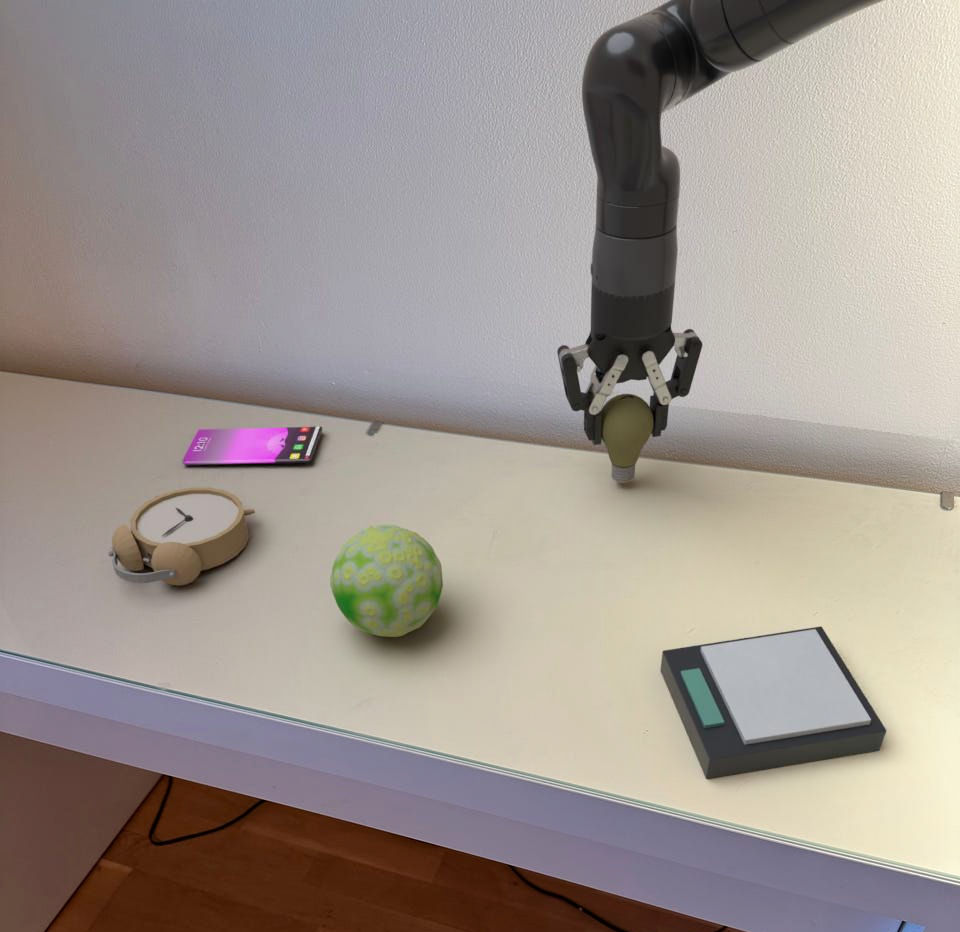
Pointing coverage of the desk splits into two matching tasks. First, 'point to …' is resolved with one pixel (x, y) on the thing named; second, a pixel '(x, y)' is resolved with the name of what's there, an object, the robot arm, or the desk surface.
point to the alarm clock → (180, 535)
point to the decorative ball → (387, 580)
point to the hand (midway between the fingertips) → (625, 436)
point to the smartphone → (253, 446)
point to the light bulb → (625, 433)
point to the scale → (769, 702)
